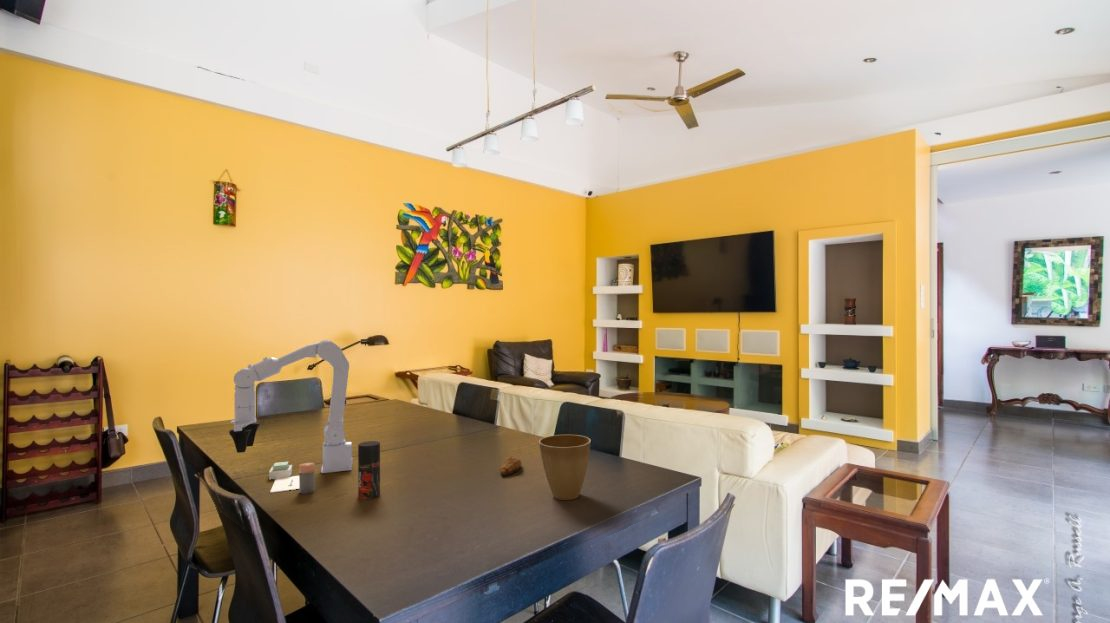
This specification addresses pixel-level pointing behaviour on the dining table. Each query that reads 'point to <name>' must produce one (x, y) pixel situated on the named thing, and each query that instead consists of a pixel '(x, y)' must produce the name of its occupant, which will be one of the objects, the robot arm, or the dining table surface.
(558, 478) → the plant pot
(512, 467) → the croissant
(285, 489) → the paper sheet
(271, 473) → the button housing
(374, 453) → the deodorant
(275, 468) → the button
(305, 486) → the grey and orange block
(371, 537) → the dining table surface
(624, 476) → the dining table surface
